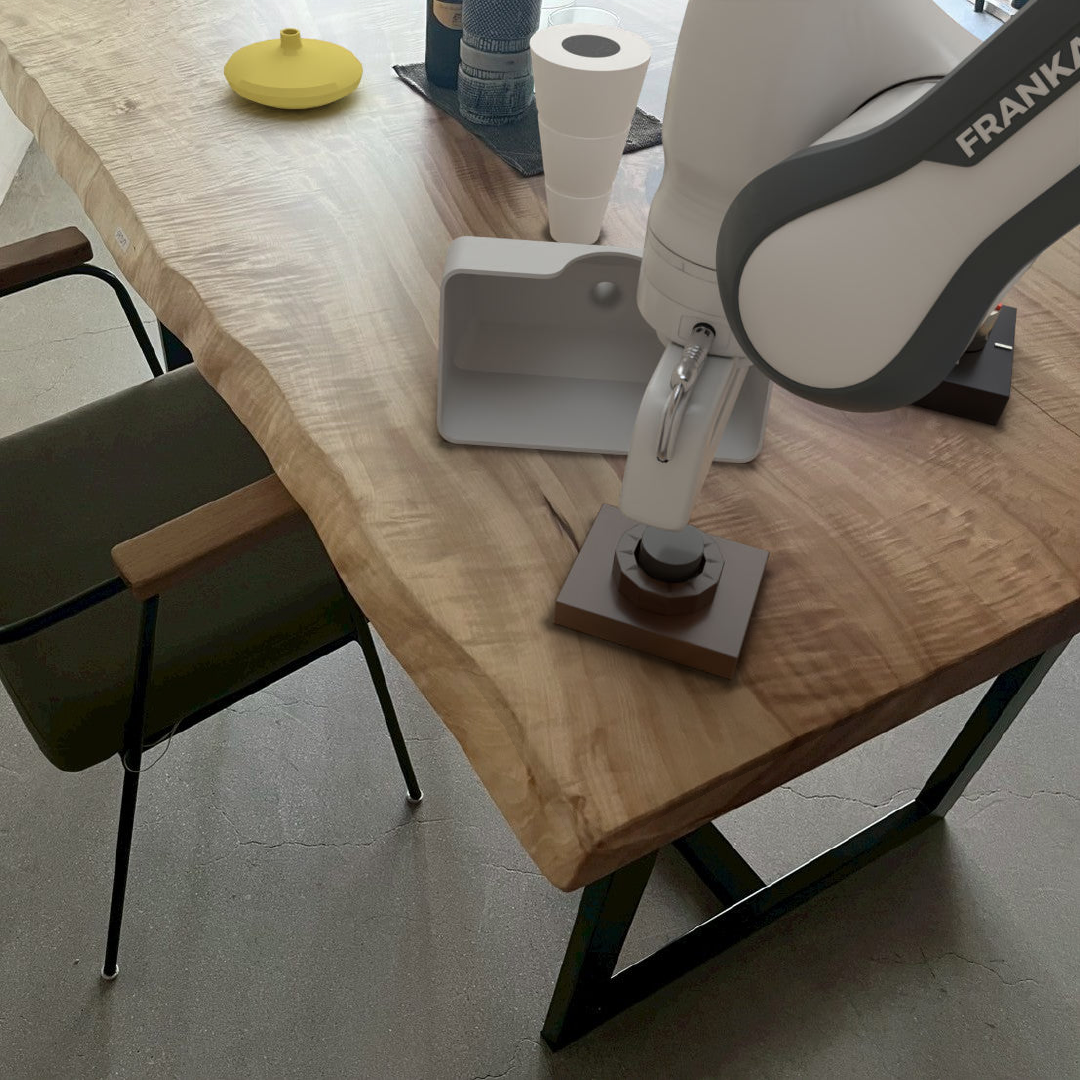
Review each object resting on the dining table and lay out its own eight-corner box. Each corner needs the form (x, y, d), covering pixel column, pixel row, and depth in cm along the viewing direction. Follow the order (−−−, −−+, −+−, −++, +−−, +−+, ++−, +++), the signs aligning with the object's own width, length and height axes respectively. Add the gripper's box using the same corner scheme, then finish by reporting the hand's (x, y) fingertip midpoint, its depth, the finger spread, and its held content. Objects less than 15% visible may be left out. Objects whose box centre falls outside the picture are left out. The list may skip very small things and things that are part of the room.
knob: (930, 342, 88) (945, 304, 86) (937, 316, 91) (951, 278, 88) (983, 357, 87) (1000, 318, 85) (988, 330, 90) (1005, 291, 87)
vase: (238, 65, 127) (228, 3, 122) (368, 70, 129) (364, 9, 124) (217, 122, 117) (206, 57, 111) (360, 126, 118) (356, 62, 113)
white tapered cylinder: (649, 235, 104) (676, 49, 91) (580, 275, 98) (598, 81, 86) (569, 196, 109) (584, 14, 96) (498, 231, 103) (504, 42, 90)
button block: (763, 572, 73) (776, 532, 70) (731, 680, 66) (743, 640, 63) (599, 524, 75) (605, 483, 72) (552, 623, 68) (556, 582, 66)
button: (706, 549, 69) (710, 530, 68) (691, 591, 66) (695, 572, 65) (648, 532, 70) (651, 513, 68) (630, 572, 67) (634, 553, 66)
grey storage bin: (740, 344, 92) (770, 213, 83) (759, 464, 81) (796, 327, 72) (456, 324, 92) (456, 190, 83) (436, 442, 80) (433, 302, 72)
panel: (904, 312, 97) (915, 282, 95) (1004, 336, 95) (1017, 306, 93) (886, 397, 88) (897, 367, 85) (996, 425, 86) (1010, 395, 84)
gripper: (742, 414, 46) (689, 617, 56) (820, 205, 59) (767, 398, 69) (605, 376, 47) (577, 582, 57) (713, 180, 61) (675, 373, 70)
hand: (682, 479), depth 63 cm, fingers closed
